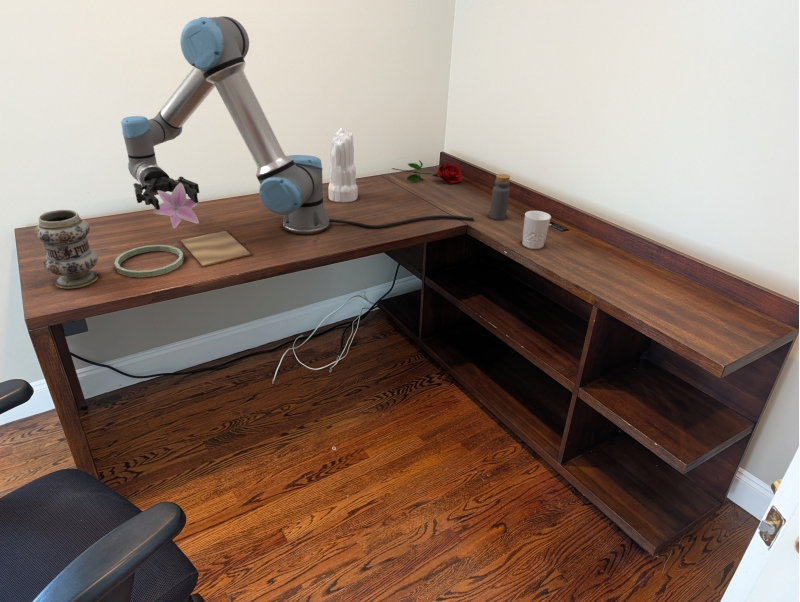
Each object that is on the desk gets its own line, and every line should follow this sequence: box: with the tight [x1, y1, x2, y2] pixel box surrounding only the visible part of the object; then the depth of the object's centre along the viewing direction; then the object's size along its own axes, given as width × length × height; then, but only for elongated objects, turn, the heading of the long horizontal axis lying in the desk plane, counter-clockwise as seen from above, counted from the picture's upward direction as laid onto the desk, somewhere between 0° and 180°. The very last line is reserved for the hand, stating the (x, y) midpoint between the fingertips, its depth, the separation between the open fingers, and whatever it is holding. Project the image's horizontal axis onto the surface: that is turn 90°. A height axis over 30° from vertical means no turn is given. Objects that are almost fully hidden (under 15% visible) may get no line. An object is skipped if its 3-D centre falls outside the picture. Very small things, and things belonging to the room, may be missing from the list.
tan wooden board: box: [180, 230, 252, 267], centre depth 158 cm, size 20×14×1 cm
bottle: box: [489, 173, 511, 221], centre depth 185 cm, size 6×6×15 cm
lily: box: [151, 183, 200, 229], centre depth 147 cm, size 12×12×10 cm
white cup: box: [521, 210, 552, 250], centre depth 167 cm, size 8×8×10 cm
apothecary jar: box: [34, 209, 99, 290], centre depth 134 cm, size 12×12×18 cm
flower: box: [391, 160, 463, 185], centre depth 220 cm, size 9×9×30 cm
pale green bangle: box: [113, 244, 185, 279], centre depth 148 cm, size 17×17×2 cm
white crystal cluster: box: [327, 127, 359, 204], centre depth 195 cm, size 11×11×25 cm
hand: (177, 201), depth 141 cm, fingers closed on lily, 9 cm apart
